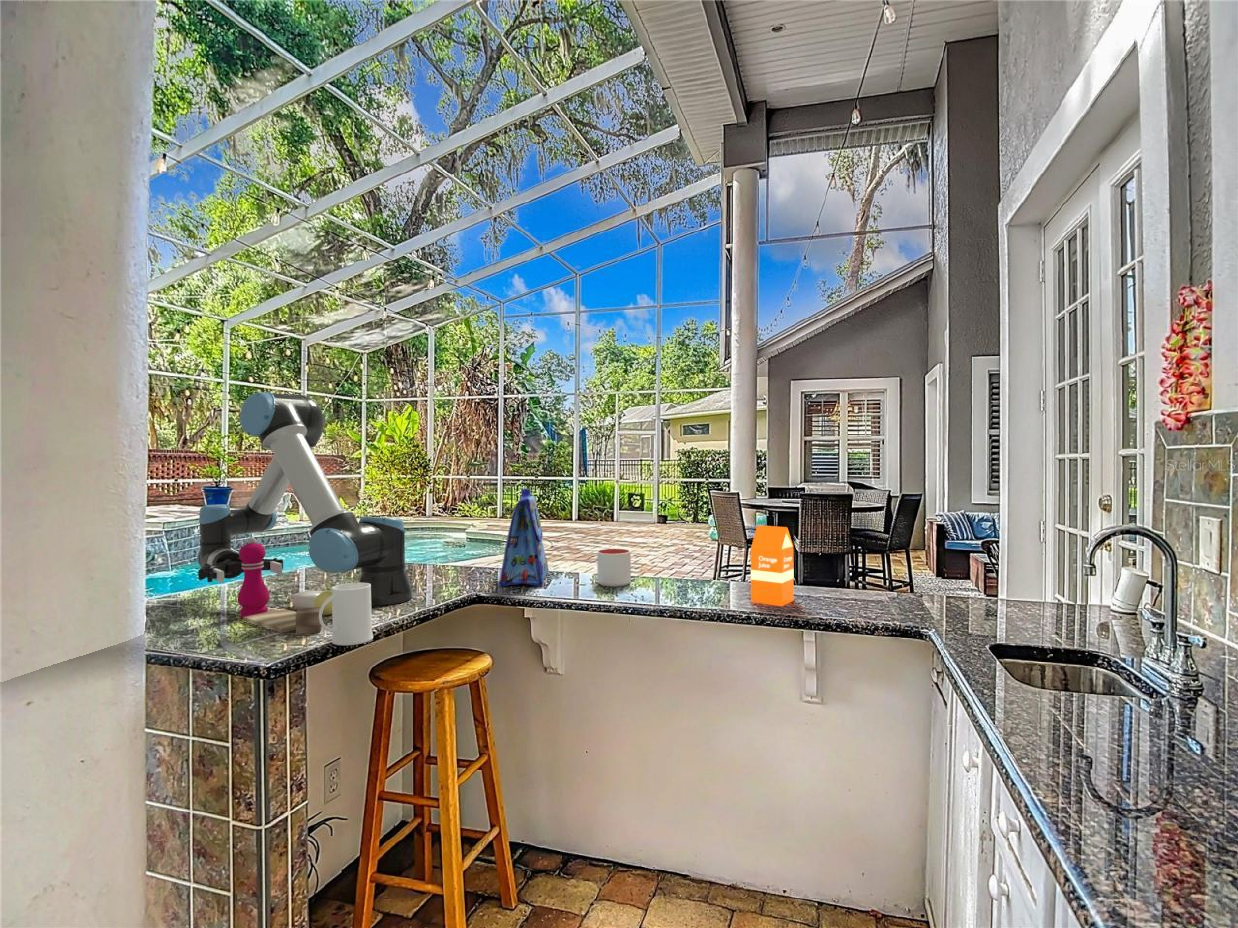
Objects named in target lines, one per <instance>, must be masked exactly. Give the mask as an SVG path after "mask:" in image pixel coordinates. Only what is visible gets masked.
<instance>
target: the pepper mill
mask: <svg viewBox="0 0 1238 928" xmlns="http://www.w3.org/2000/svg"><path fill="white" fill-rule="evenodd" d="M256 542H257V540H256V538H255V537H254V536H251V537H249V538H248V540H247V543H246V544H244V545H242V546H241V547H240V548H239V551H238V553H239V558H240V559H241V560H242V561H243V563H242V564H241V565H242V569H243V570H244V572H243V581H242V582H243V583H242V585H241V587H240V589H239V591H238V594H237V604H239V606H241V607H242V608H241V609H240V610H239V615H240V618H242V617H246V616H251V615H255V614H260V613H265V612H269V607H268V606H267V603H268V602H269V600H270V598H271V597H270V592H269V589H268V587H267V586H266V583H265V582H264V580H263V575H262V574H263V573H262V571H263V570H262V567H264V565H263V563H264V562H263V561H262V560H263V559H265V557H266V553H267V552H266V549H265V547H264V545H262V544H261V543H256Z"/></svg>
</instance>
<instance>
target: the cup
mask: <svg viewBox="0 0 1238 928" xmlns="http://www.w3.org/2000/svg"><path fill="white" fill-rule="evenodd" d="M596 556H597V557H596V558H597V560H596V561H597V564H596V565H597V583H598V584H599V585H601V586H603V587H608V588H609V587H610V588H616V587H618V588H619V587H624V586H627V585H629V584H630V583H631V581H632V578H631V577H632V576H631V575H632V574H631V571H632V570H631V566H632V563H631V558H632V557H631V550H629V549H625V548H604V549H600V550H598V551H596Z"/></svg>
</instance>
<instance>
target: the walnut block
mask: <svg viewBox="0 0 1238 928" xmlns="http://www.w3.org/2000/svg"><path fill="white" fill-rule="evenodd" d="M320 608H321V607H313V608H302V609H297V610H296V611H295V612H296V614H295V617H296V630H295V636H300V635H303V634H304V635H312V634H321V630H322V625H321V624H320V621H319V611H320ZM304 635H303V636H304Z"/></svg>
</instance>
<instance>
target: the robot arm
mask: <svg viewBox="0 0 1238 928" xmlns="http://www.w3.org/2000/svg"><path fill="white" fill-rule="evenodd" d="M239 416H240V417H239V420H240V421H239V422H240V425H241V428H242V431H243V432H244V433H245V434H246V435H248V436H251V437H253V438H257V437H258V440H259V442H260V443H261V445H262V447H263V448H264V449H265V450H267V451H271V452H273V456H272V458H271V460H270V462H269V464H268V465H267V467H266V469H265V470H264V473H263V475H262V476H261V478H260V480H259V482H258V484H257V486H256V488H255V489H254V491H253V493H252V495H251V497H250V499H249V500H248V502H247V504H246V505H245V507H244V508H238V509H237V508H235V509H231V507H230V505H229V504H224V503H223V504H207V505H206V504H205V505H203V506H201V507H200V508H199V509H200V510H199V517H198V518H199V519H198V522H199V533H200V550H199V552H198V554H197V557H196V561H197V563H198V566H199V567H200V568H199V569H198V570H197V576H198V578H197V579H198V580H199V581H203V580H205V579H206V580H207V581H206V582H207V583H213V581H216V582H218V583H225V579H226V580H227V579H229V580H230V579H235V578H237V577H239V576H240V575H241V574H244V570H243V569H242V565H241V564H242V563H243V561H242V560H241V559H240V558H239V551H236V550H232V537H233V536H239V535H245V534H254V533H262V532H265V531H270V530H272V529H273V528H274V527H276V525H277V519H278V515H277V512H276V508H277V507H278V505H279V504H280V501H282V498H283V496H284V495H285V493H286V492H287V489H288V488H289V486H291V487H292V490H293V492H294V494H295V496H296V497H297V499H298V501H299V503H300V505H301V507H302V508H303V510H304V512H305V514H306V516H307V517H308V518H307V519H308V520H309V521H310V524H311V528H310V529H309V535H310V537H309V539H308V543H307V544H308V545H307V546H308V547H309V548H308V555H309V558H310V561H312V563H313V564H314V565H315V567H316V568H318V569H319V570H321V571H322V572H324V573H328V574H339V573H347V572H350V571H353V570H357V569H360V575H359V579H358V582H360V583H369V584H371V607H373V606H374V607H375V606H388V605H389V606H390V605H394V604H395V605H396V604H400V603H404V602H405V603H406V601H409V600H411V599H413V588H412V586H411V583H410V580H409V577H408V574H407V572H406V551H405V548H406V544H405V541H406V540H405V533H406V531H405V523H404V520H403V519H401V518H400V517H376V516H361V517H360V518H359V520H357V517H356V516H355V514H354V512H353V511H350V510H347V509H345V508H344V506H343V505H342V503H341V502H340V499H339V498H338V495H337V494H336V492H335V490H334V488H333V487H332V485H331V483H330V481H329V480H328V477H327V475H326V474H325V472H324V470H323V468H322V466H321V465H320V462H319V461H318V459H317V458H316V455H315V454H314V452H313V450H312V448H315V447H316V446H317V444H318V442H319V440H320V438H321V437H322V435H323V430H324V426H325V425H324V424H325V420H324V419H325V418H324V414H323V410H322V409H321V407H320V405H319V404H318V403H317V402H316V401H315V400H314V399H313V398H310V397H309V396H307V395H303V394H289V393H287V394H286V393H275V392H270V391H266V392H265V391H264V392H255V393H252V394H250V395H249V396H248V397H247V398H246V399H245V400H244V402H243V404H242V406H241V410H240V414H239ZM262 561H263V562H264V563H263V565H264V567H262V571H270V572H271V573H273V574H277V575H283V570H284V559H281V558H279V559H278V557H274V558H263V560H262Z"/></svg>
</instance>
